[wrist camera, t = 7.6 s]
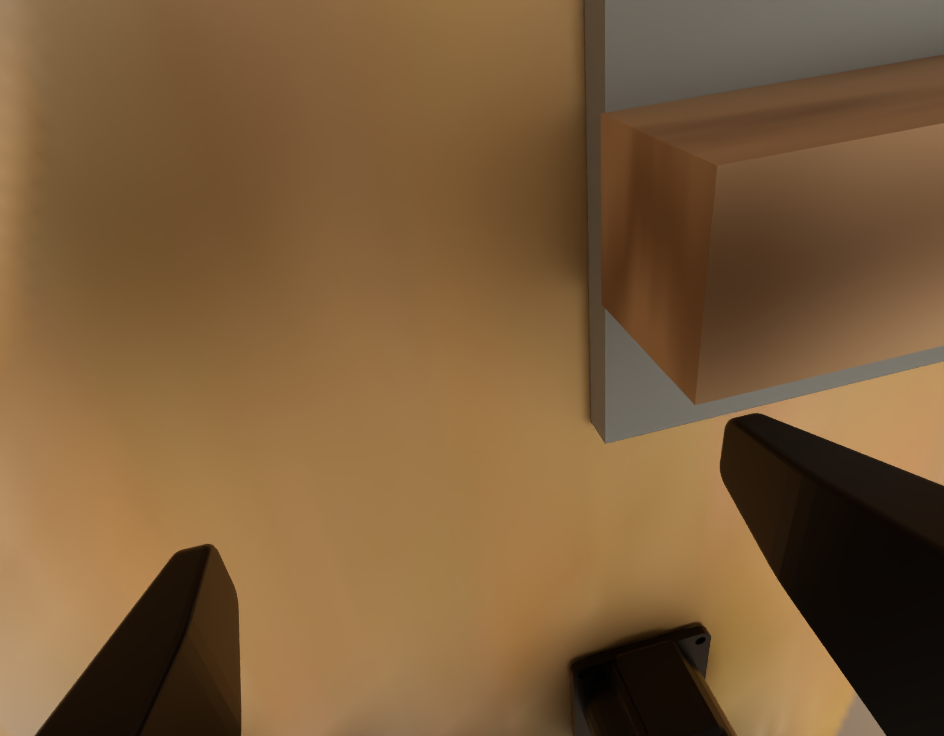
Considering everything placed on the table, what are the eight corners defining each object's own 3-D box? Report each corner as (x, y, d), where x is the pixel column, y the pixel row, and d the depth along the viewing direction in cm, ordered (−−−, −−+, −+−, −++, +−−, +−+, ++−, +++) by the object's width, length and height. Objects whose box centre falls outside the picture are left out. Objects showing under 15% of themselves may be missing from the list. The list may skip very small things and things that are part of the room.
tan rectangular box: (920, 236, 19) (1095, 308, 15) (601, 304, 18) (694, 405, 13) (972, 49, 16) (1205, 74, 12) (600, 113, 15) (717, 166, 11)
